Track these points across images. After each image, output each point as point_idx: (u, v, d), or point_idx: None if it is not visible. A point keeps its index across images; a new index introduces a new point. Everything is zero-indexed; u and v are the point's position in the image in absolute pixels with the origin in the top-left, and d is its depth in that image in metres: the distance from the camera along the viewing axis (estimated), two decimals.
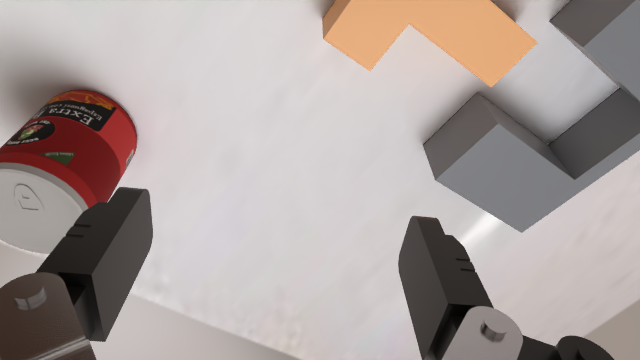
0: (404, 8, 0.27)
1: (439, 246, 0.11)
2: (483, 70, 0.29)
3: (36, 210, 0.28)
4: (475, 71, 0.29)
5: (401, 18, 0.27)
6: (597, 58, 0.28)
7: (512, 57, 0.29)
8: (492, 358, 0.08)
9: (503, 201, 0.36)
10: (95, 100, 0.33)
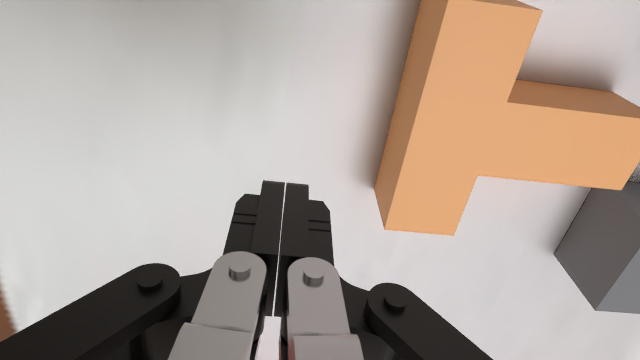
0: (463, 165, 0.21)
1: (297, 208, 0.12)
2: (600, 178, 0.22)
3: None
4: (590, 183, 0.22)
5: (465, 174, 0.21)
6: None
7: (635, 150, 0.21)
8: (298, 299, 0.09)
9: None
10: None
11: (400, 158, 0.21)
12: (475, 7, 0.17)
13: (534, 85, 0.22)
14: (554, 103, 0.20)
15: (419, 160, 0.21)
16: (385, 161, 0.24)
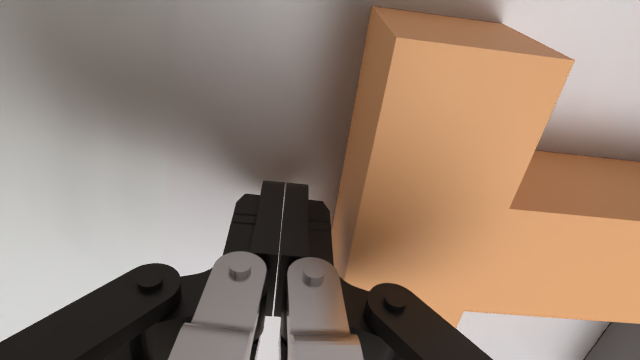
0: (441, 297, 0.13)
1: (297, 208, 0.12)
2: None
3: None
4: None
5: (444, 310, 0.13)
6: None
7: None
8: (298, 299, 0.09)
9: None
10: None
11: None
12: (448, 55, 0.09)
13: (553, 160, 0.14)
14: (589, 203, 0.12)
15: None
16: None
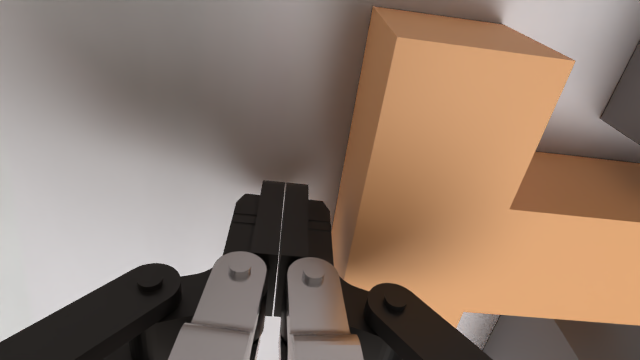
0: (440, 298, 0.13)
1: (297, 208, 0.12)
2: None
3: None
4: None
5: (444, 310, 0.13)
6: None
7: None
8: (298, 299, 0.09)
9: None
10: None
11: None
12: (449, 55, 0.09)
13: (553, 162, 0.14)
14: (589, 204, 0.12)
15: None
16: None
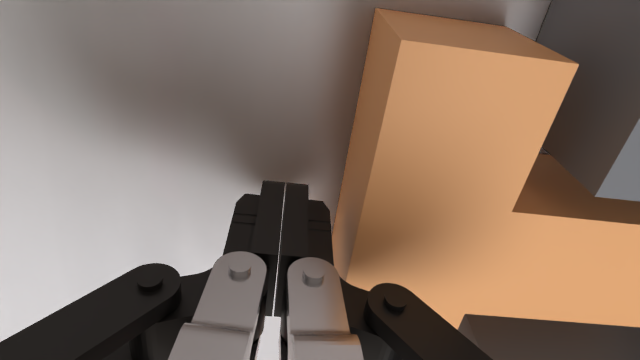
0: (442, 300, 0.13)
1: (297, 208, 0.12)
2: None
3: None
4: None
5: (445, 312, 0.13)
6: None
7: None
8: (298, 299, 0.09)
9: None
10: None
11: None
12: (453, 58, 0.09)
13: (554, 164, 0.14)
14: (591, 207, 0.12)
15: None
16: None
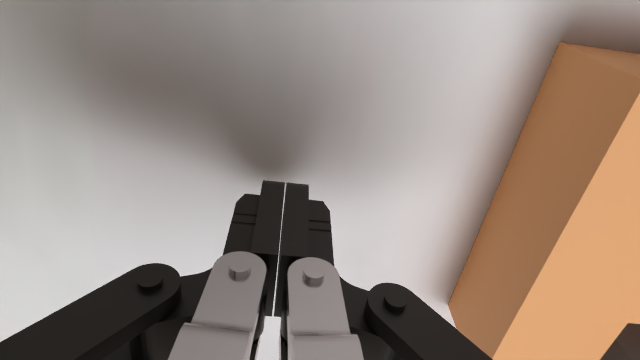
0: (611, 310, 0.14)
1: (297, 208, 0.12)
2: None
3: None
4: None
5: (610, 322, 0.14)
6: None
7: None
8: (298, 299, 0.09)
9: None
10: None
11: (512, 296, 0.14)
12: None
13: None
14: None
15: (546, 305, 0.14)
16: (472, 278, 0.17)
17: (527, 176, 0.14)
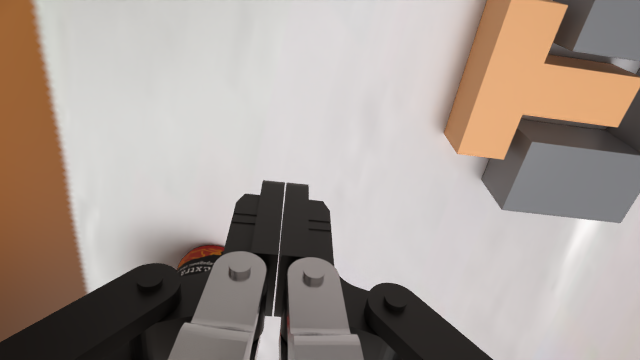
0: (514, 106, 0.32)
1: (297, 208, 0.12)
2: (604, 118, 0.33)
3: None
4: (596, 122, 0.33)
5: (514, 113, 0.32)
6: (592, 52, 0.29)
7: (626, 98, 0.32)
8: (298, 299, 0.09)
9: (581, 202, 0.35)
10: (208, 252, 0.42)
11: (471, 102, 0.32)
12: (527, 2, 0.28)
13: (559, 57, 0.33)
14: (573, 66, 0.31)
15: (485, 103, 0.32)
16: (455, 110, 0.35)
17: (478, 49, 0.32)
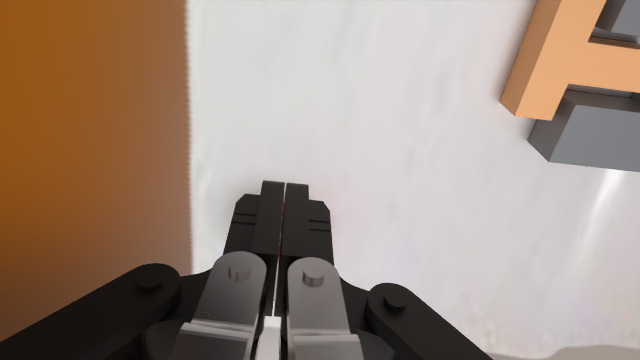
0: (562, 77, 0.41)
1: (297, 208, 0.12)
2: (632, 85, 0.41)
3: None
4: (626, 89, 0.42)
5: (562, 82, 0.41)
6: (626, 33, 0.38)
7: None
8: (298, 299, 0.09)
9: (612, 155, 0.44)
10: None
11: (528, 74, 0.41)
12: None
13: (596, 38, 0.42)
14: (609, 44, 0.40)
15: (540, 74, 0.41)
16: (511, 82, 0.44)
17: (533, 32, 0.41)
